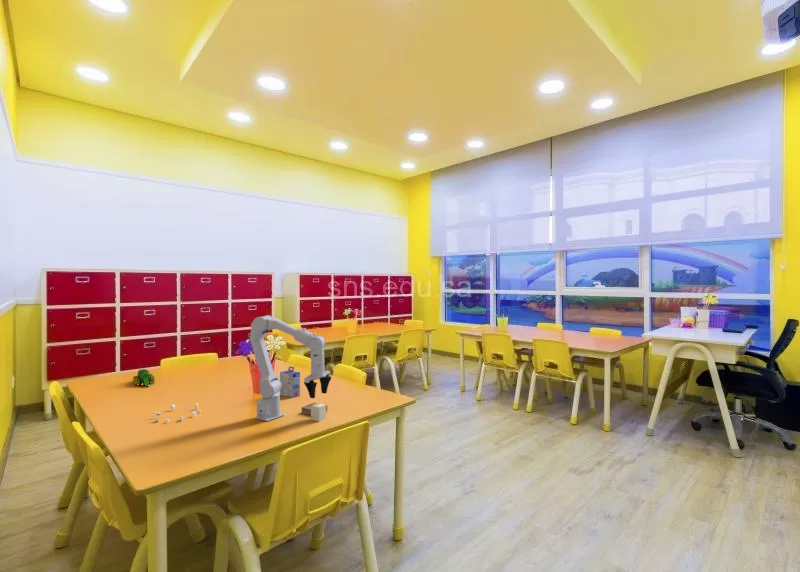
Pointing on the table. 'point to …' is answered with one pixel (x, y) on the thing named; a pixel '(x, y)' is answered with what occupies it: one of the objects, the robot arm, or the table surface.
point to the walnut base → (308, 409)
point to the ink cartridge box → (290, 383)
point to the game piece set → (174, 409)
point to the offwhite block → (318, 412)
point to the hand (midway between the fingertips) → (318, 395)
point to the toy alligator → (144, 377)
